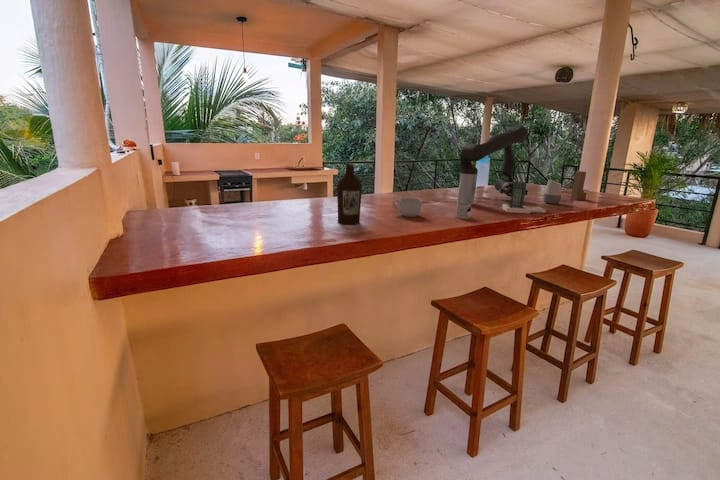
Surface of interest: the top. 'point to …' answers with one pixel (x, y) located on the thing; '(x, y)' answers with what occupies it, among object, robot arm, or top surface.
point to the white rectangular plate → (536, 209)
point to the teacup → (408, 206)
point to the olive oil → (349, 197)
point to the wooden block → (578, 186)
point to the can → (518, 195)
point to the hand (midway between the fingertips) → (516, 193)
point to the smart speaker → (552, 192)
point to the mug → (463, 210)
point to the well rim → (516, 209)
